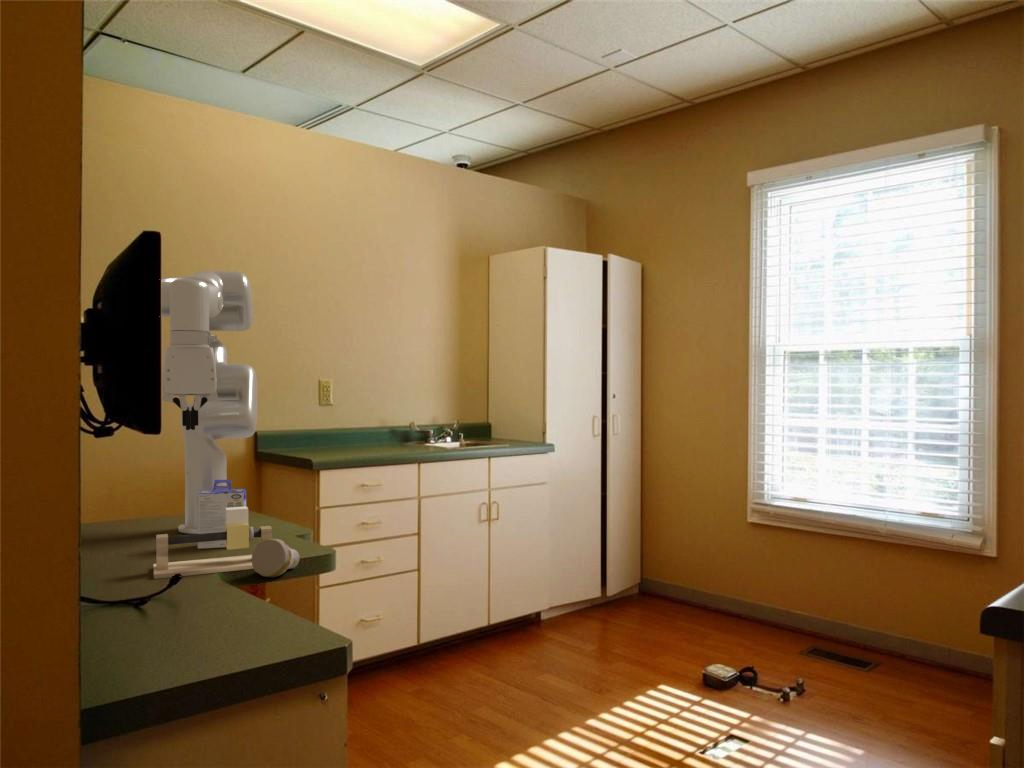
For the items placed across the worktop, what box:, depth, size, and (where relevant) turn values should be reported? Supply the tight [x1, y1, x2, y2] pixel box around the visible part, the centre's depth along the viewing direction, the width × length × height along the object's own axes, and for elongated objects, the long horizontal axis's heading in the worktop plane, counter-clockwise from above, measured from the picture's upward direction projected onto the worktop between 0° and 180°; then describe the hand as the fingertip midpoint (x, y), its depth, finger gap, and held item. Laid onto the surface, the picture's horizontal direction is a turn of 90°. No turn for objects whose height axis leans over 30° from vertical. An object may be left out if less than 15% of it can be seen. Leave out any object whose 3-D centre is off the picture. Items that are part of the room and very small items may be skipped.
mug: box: [251, 538, 300, 578], centre depth 146 cm, size 8×10×10 cm
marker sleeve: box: [225, 505, 250, 551], centre depth 152 cm, size 5×4×8 cm
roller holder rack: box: [152, 525, 273, 580], centre depth 150 cm, size 9×22×7 cm, turn 115°
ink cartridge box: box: [196, 479, 247, 550], centre depth 170 cm, size 10×6×14 cm, turn 105°
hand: (190, 429), depth 158 cm, fingers closed
